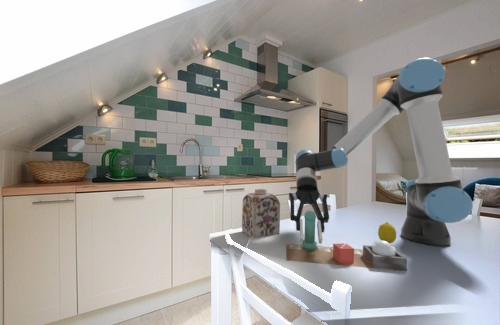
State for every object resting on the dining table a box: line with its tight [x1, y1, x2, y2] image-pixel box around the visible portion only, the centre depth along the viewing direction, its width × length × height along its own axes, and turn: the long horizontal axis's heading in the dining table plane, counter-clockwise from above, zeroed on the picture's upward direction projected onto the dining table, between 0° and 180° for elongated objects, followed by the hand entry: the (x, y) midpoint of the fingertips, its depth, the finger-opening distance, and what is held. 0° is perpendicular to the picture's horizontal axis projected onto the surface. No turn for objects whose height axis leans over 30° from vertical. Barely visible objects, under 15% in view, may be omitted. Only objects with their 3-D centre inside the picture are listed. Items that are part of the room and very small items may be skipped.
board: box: [285, 243, 408, 272], centre depth 65 cm, size 31×13×4 cm, turn 81°
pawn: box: [302, 210, 318, 251], centre depth 70 cm, size 4×4×12 cm
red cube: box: [332, 242, 355, 264], centre depth 62 cm, size 4×4×4 cm
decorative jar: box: [241, 188, 281, 239], centre depth 87 cm, size 12×12×18 cm
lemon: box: [377, 221, 397, 244], centre depth 78 cm, size 6×6×8 cm
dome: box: [371, 240, 396, 257], centre depth 61 cm, size 6×6×5 cm
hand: (311, 240), depth 66 cm, fingers open, 5 cm apart
